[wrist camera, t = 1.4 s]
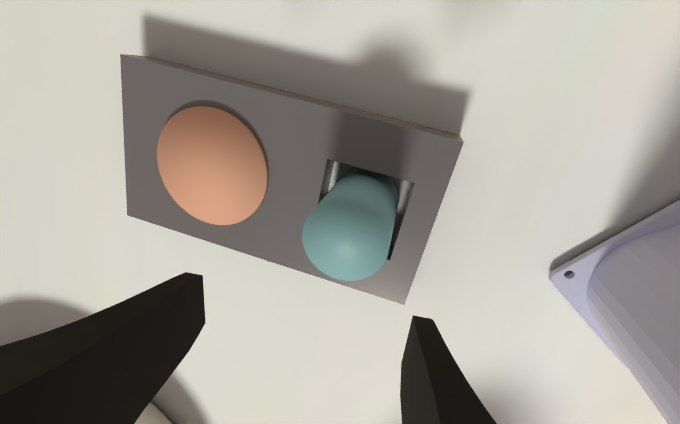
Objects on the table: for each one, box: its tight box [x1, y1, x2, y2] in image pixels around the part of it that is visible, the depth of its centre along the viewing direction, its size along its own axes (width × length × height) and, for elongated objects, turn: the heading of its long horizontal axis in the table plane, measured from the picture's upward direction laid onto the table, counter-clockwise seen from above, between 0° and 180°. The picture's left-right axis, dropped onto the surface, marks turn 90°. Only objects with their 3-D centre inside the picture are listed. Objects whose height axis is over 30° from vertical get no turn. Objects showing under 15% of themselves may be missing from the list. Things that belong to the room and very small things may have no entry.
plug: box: [302, 168, 399, 281], centre depth 18 cm, size 4×4×6 cm
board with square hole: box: [120, 54, 463, 305], centre depth 20 cm, size 19×10×2 cm, turn 78°
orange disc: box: [157, 106, 268, 225], centre depth 20 cm, size 7×7×1 cm
